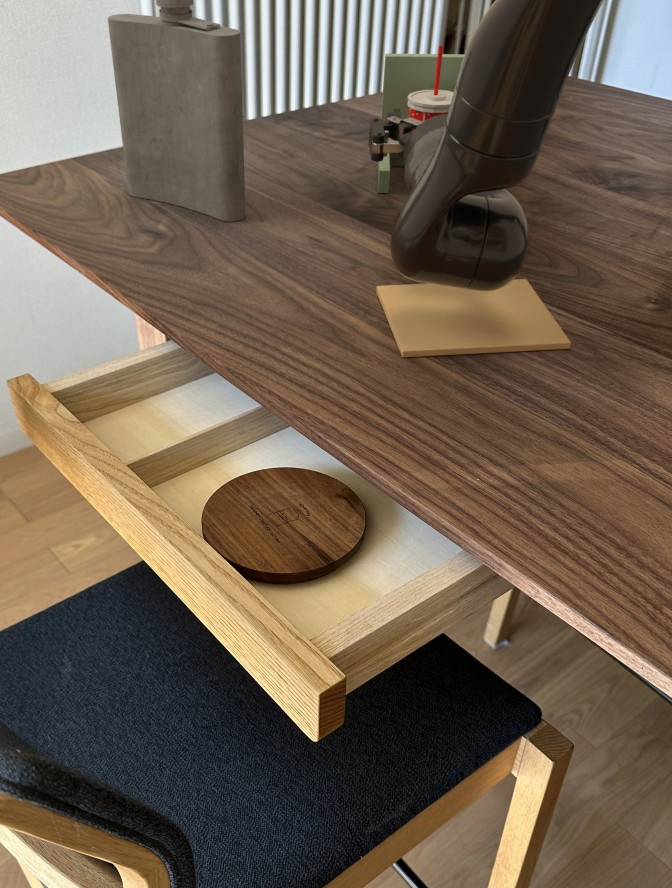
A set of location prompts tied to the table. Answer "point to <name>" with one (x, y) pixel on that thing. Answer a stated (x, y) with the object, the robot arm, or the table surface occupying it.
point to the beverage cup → (430, 98)
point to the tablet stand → (404, 79)
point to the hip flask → (181, 109)
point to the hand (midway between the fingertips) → (435, 118)
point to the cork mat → (469, 319)
